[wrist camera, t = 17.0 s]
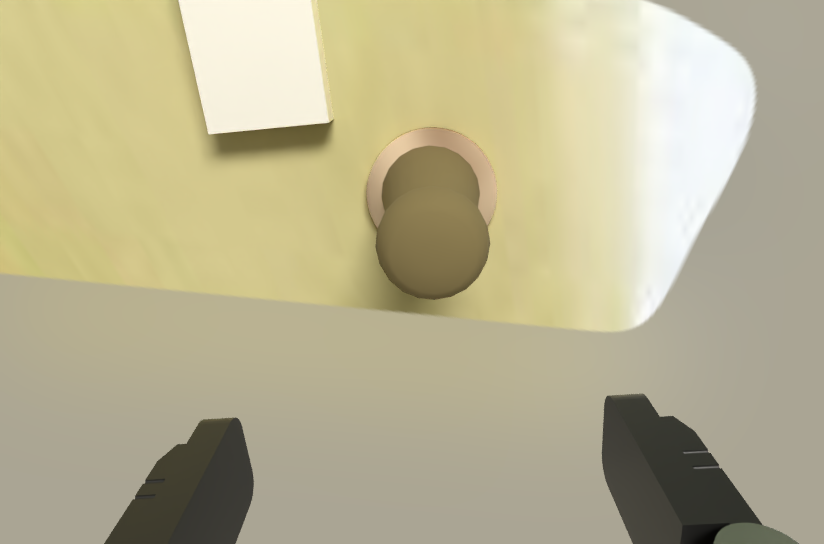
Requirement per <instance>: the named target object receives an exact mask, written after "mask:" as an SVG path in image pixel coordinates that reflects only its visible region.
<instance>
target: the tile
mask: <svg viewBox="0 0 824 544" xmlns="http://www.w3.org/2000/svg"><path fill="white" fill-rule="evenodd" d="M178 1H179V5H180V10H181V14H182V19H183V23H184V28H185V32H186V36H187V41H188V45H189V50H190V54H191V59H192V63H193V68H194V72H195V76H196V81H197V85H198V90H199V94H200V99H201V103H202V107H203V112H204V116H205V121H206V125H207V130H208V134H217V133H228V132H238V131H248V130H258V129H269V128H279V127H289V126H299V125H310V124H320V123H329V122H330V121H332V120H333V119H334V117H333V110H332V103H331V96H330V89H329V82H328V75H327V68H326V61H325V54H324V47H323V40H322V33H321V26H320V19H319V12H318V5H317V0H178Z"/></svg>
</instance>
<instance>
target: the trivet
mask: <svg viewBox="0 0 824 544" xmlns="http://www.w3.org/2000/svg"><path fill="white" fill-rule="evenodd" d="M428 145H430V146H439V147H445V148H447V149H450V150H452V151H454V152H456V153H458V154H460V155H461V156H462V157H463V158H464V159H465V160H466V161H467V162H468V163H469V164H470V165H471V167H472V169H473V171H474V173H475V174H476V176H477V178H478V184H479V190H480V197H479V203H478V209H479V211H480V212H481V214H482V216H483V218H484V220H485V222H486V224H487V226H488V224H489V222H490V220H491V218H492V216H493V213H494V210H495V207H496V201H497V183H496V178H495V174H494V171H493V169H492V166H491V164H490V162H489V161H488V159H487V157H486V155H485V154H484V153H483V152H482V150H481V149H480V148H479V147H478V146H477V145H476V144H475V143H474V142H473V141H471V140H470V139H469V138H467V137H465V136H464V135H462V134H460V133H457V132H455V131H452V130H448V129H444V128H436V127H430V128H421V129H416V130H413V131H409V132H407V133H405V134H403V135H401V136H399V137H398V138H396V139H394V140H393V141H392V142H391V143H389V144H388V145H387V146H386V147H385V148H384V149H383V150H382V152H381V153H380V154H379V156H378V157H377V159H376V161H375V163H374V165H373V167H372V169H371V172H370V175H369V178H368V183H367V203H368V208H369V212H370V215H371V217H372V219H373V222H374V224H375V225H376V227H377V228H378V226H379V224H380V222H381V220H382V217H383V215H384V213H385V210H384V206H383V202H382V186H383V181H384V178H385V176H386V174H387V172H388V169H389V168H390V166H391V165H392V164H393V163H394V162H395V161H396V160H397V159H398V158H399V156H401V155H403V154H405V153H406V152H408V151H410V150H412V149H414V148H418V147H423V146H428Z"/></svg>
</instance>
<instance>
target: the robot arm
mask: <svg viewBox="0 0 824 544" xmlns="http://www.w3.org/2000/svg"><path fill="white" fill-rule="evenodd" d="M602 444H603V445H602V463H603V470H604V475H605V479H606V482H607V485H608V487H609V490H610V492H611V494H612V496H613V499H614V501H615V503H616V506H617V508H618V510H619V513H620V515H621V517H622V520H623V522H624V524H625V526H626V529H627V531H628V533H629V536H630V538H631V540H632V542H633V544H799V543H798V542H796V541H795V540H793V539H792V538H790V537H789V536H787V535H785V534H784V533H782V532H780V531H777V530H775V529H773V528H770V527H767V526H764V525H762V523H761V522H760V521H759V519H758V518H757V517H756V515H755V514H754V512H753V511H752V510H751V508H750V507H749V506H748V504H747V503H746V501H745V500H744V499H743V497H742V496H741V495H740V493H739V492H738V490H737V489H736V488H735V486H734V485H733V483H732V482H731V481H730V479H729V478H728V477H727V475H726V474H725V473H724V471H723V470H722V469H720V468H719V464H718V463H717V462H716V460H715V459H714V457H713V456H712V455H711V453H708V449H707V448H706V446H705V445H704V444H703V442H702V441H701V439H700V438H699V437H698V436H697V434H696V432H695V431H693V430H692V429H691V428H689V427H688V426H686V425H685V424H684V423H682V422H680V421H679V420H678V419H676V418H675V417H674V416H666V417H659V415H658V413H657V412H656V410H655V409H654V407H653V406H652V404H651V403H650V401H649V400H648V398H647V397H646V396H645V395H644V394H631V395H630V394H629V395H614V396H607V397H606V399H605V405H604V423H603V443H602ZM253 482H254V481H253V472H252V467H251V463H250V459H249V455H248V450H247V446H246V442H245V438H244V434H243V429H242V425H241V423H240V421H239V419H238V418H224V419H223V418H222V419H208V420H202V421H201V422H200V423H199V424H198V426H197V427H196V429H195V431H194V432H193V434H192V436H191V437H190V439H189V441H188V442H187V444H178V445H176V446H175V447H174V448H173V449H172V450H170V451H169V452H168V453H167V454H166V455H165V456H163V457H162V458H161V459H160V460H158V461H157V463H156V464H155V466H154V468H153V469H152V471H151V472H150V474H149V475H148V477H147V478H146V482H145V484H143V485H142V486H141V488H140V489H139V491H138V492H137V494H136V496H135V500H132V502H131V503H130V505H129V506H128V508H127V510H126V511H125V512H124V514H123V516H122V517H121V519H120V520H119V522H118V523H117V525H116V526H115V528H114V529H113V531H112V532H111V534H110V536H109V537H108V539H107V540H106V542H105V543H104V544H235V543H236V541H237V538H238V535H239V533H240V530H241V528H242V525H243V522H244V520H245V517H246V514H247V512H248V509H249V506H250V504H251V500H252V496H253V485H254V483H253Z"/></svg>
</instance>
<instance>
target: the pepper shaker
mask: <svg viewBox="0 0 824 544" xmlns="http://www.w3.org/2000/svg"><path fill="white" fill-rule="evenodd" d="M479 197H480V190H479V184H478V178H477V176H476V174H475V173H474V171H473V169H472V167H471V165H470V164H469V163H468V162H467V161H466V160H465V159H464V158H463V157H462V156H461V155H460V154H458V153H456V152H454V151H452V150H450V149H447V148H445V147H439V146H430V145H428V146H423V147H418V148H414V149H412V150H410V151H408V152H406V153H405V154H403V155H401V156H399V158H398V159H397V160H396V161H395V162H394V163H393V164H392V165H391V166H390V168H389V169H388V172H387V174H386V176H385V178H384V181H383V186H382V202H383V206H384V210H385V213H384V215H383V217H382V220H381V222H380V224H379V226H378V229H377V238H376V251H377V255H378V259H379V263H380V265H381V267H382V269H383V270H384V272H385V273H386V275H387V277H388V278H389V280H390V281H391V282H392V283H393V284H395V285H396V286H397V287H398V288H399V289H401V290H402V291H403V292H406V293H408V294H410V295H413V296H415V297H417V298H425V299H434V300H435V299H440V298H446V297H451V296H453V295H455V294H457V293H459V292H461V291H463V290H465V289H467V288H468V287H469V286H470V285H471V284H472V283H473V282H474V281H475V280H476V279H477V278H478V277H479V275H480V273H481V271H482V269H483V267H484V265H485V264H486V261H487V258H488V253H489V247H490V239H489V233H488V227H487V224H486V222H485V220H484V218H483V216H482V214H481V212H480V211H479V209H478V203H479Z"/></svg>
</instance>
